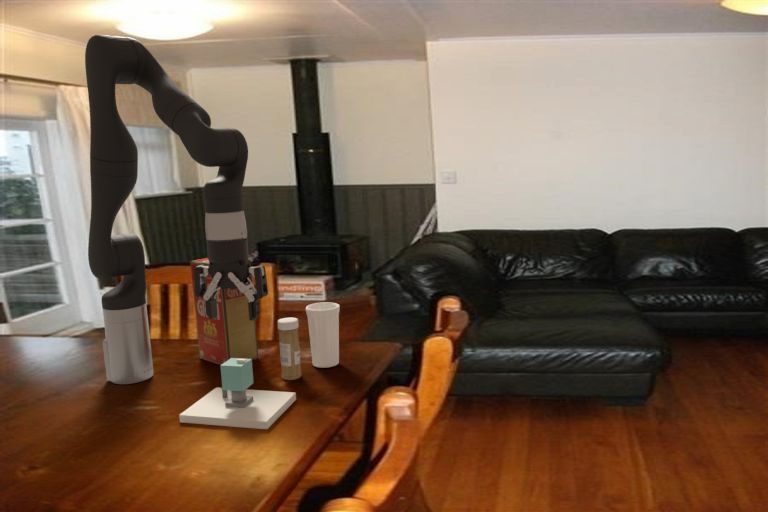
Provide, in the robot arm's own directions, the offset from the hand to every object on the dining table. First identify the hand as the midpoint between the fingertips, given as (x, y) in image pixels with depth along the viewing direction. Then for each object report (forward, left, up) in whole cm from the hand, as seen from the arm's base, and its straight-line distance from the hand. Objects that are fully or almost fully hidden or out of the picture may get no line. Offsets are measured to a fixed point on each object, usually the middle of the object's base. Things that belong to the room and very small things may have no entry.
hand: (233, 318), depth 120 cm
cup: (+8, +28, -19) cm, 35 cm away
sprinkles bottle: (+3, +19, -19) cm, 27 cm away
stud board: (0, 0, -19) cm, 19 cm away
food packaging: (-18, +29, -19) cm, 39 cm away
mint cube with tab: (0, 0, -14) cm, 14 cm away
